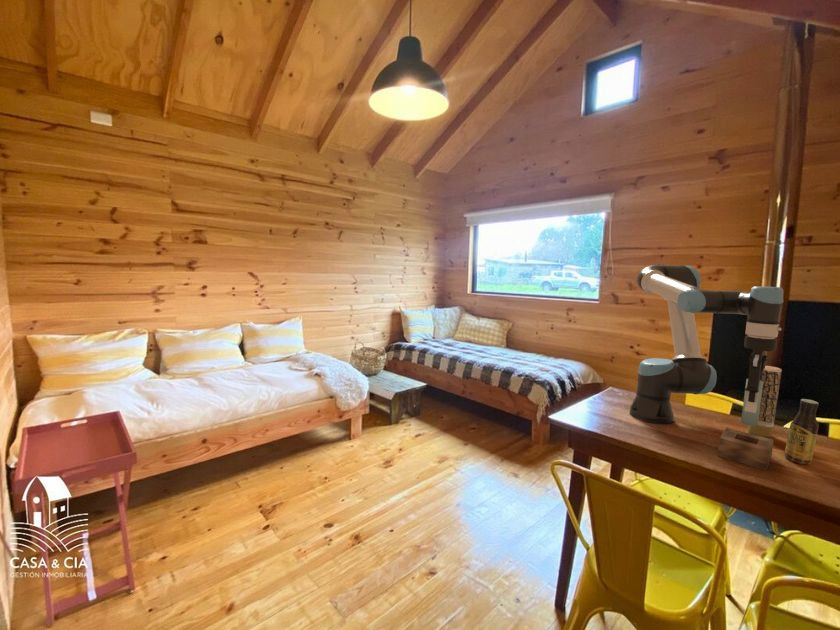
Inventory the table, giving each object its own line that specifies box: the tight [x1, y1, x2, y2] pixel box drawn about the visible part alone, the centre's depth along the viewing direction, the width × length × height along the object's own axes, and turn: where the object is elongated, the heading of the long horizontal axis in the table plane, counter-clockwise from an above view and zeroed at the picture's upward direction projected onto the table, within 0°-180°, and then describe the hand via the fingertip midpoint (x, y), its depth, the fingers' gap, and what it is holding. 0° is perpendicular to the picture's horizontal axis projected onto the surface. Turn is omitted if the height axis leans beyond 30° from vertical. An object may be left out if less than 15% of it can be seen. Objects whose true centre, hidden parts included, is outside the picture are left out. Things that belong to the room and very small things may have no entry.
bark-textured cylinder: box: [747, 365, 783, 438], centre depth 140 cm, size 7×7×25 cm
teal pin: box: [740, 378, 763, 426], centre depth 121 cm, size 4×4×14 cm
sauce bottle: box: [784, 398, 820, 465], centre depth 121 cm, size 6×6×20 cm
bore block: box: [716, 427, 775, 471], centre depth 123 cm, size 12×12×6 cm
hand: (751, 409), depth 122 cm, fingers closed on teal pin, 4 cm apart
